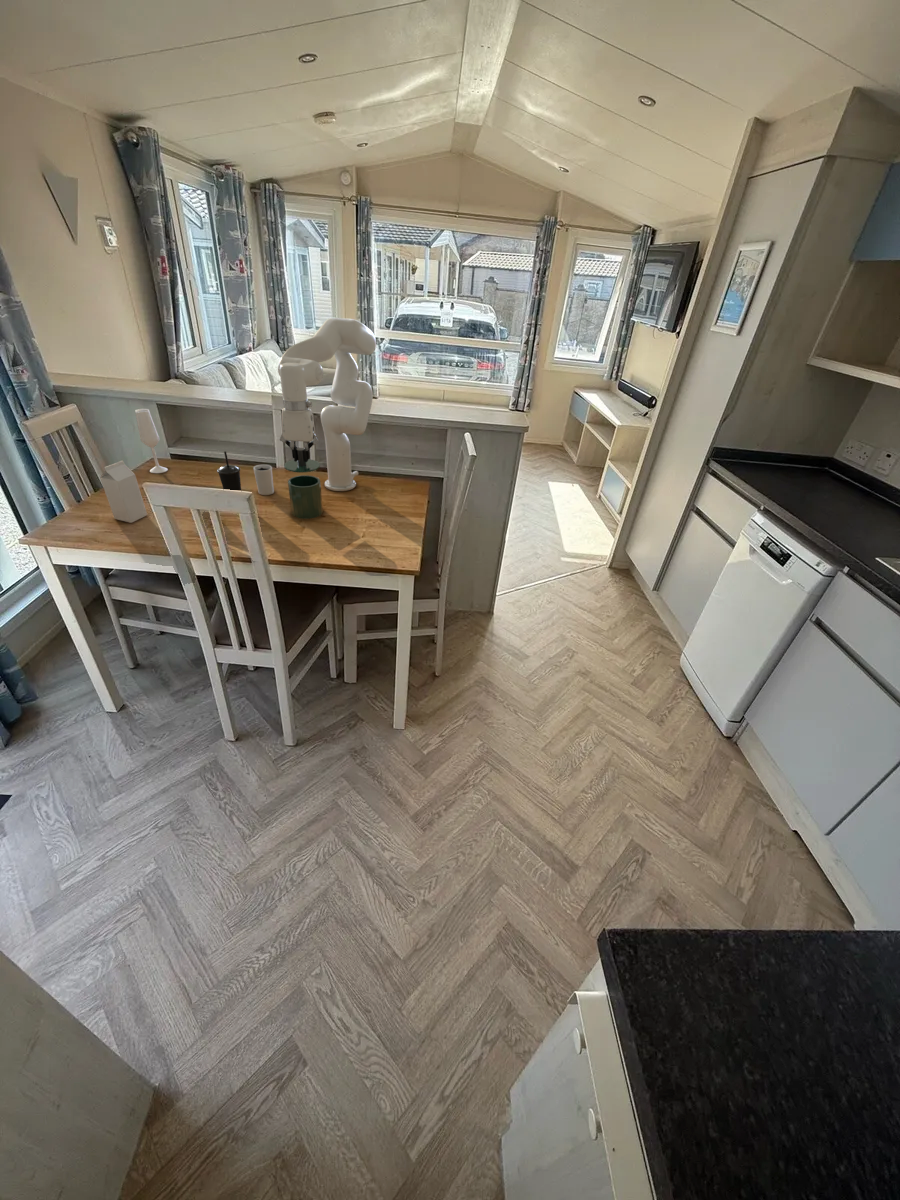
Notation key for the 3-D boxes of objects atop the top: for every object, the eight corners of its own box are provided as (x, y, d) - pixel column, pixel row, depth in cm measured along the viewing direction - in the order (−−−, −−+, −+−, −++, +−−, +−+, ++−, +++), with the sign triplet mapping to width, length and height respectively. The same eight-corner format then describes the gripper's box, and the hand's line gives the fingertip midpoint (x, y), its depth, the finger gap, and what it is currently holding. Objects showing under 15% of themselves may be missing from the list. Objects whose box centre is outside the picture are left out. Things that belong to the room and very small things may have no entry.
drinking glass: (253, 493, 196) (249, 468, 190) (265, 487, 201) (261, 463, 195) (267, 496, 194) (263, 471, 188) (278, 490, 199) (275, 466, 193)
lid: (301, 459, 181) (299, 441, 177) (327, 467, 177) (325, 448, 173) (276, 468, 172) (274, 449, 169) (303, 477, 168) (301, 457, 164)
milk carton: (147, 515, 175) (131, 462, 164) (131, 523, 170) (112, 469, 159) (131, 511, 177) (114, 458, 166) (114, 519, 171) (95, 465, 160)
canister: (306, 504, 191) (303, 472, 183) (329, 512, 186) (326, 480, 179) (285, 514, 183) (280, 481, 175) (308, 522, 178) (304, 489, 171)
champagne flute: (170, 467, 211) (154, 408, 198) (163, 473, 206) (147, 413, 192) (153, 466, 211) (137, 407, 197) (146, 472, 205) (129, 412, 192)
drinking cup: (239, 510, 183) (229, 456, 171) (220, 507, 184) (208, 453, 172) (250, 502, 189) (241, 449, 178) (231, 499, 190) (221, 447, 179)
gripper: (323, 403, 166) (327, 458, 176) (273, 400, 165) (280, 455, 176) (318, 409, 160) (323, 465, 170) (266, 406, 159) (274, 462, 170)
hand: (301, 460), depth 173 cm, fingers closed on lid, 2 cm apart
